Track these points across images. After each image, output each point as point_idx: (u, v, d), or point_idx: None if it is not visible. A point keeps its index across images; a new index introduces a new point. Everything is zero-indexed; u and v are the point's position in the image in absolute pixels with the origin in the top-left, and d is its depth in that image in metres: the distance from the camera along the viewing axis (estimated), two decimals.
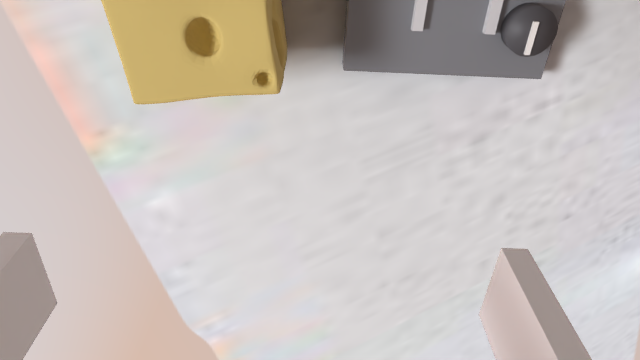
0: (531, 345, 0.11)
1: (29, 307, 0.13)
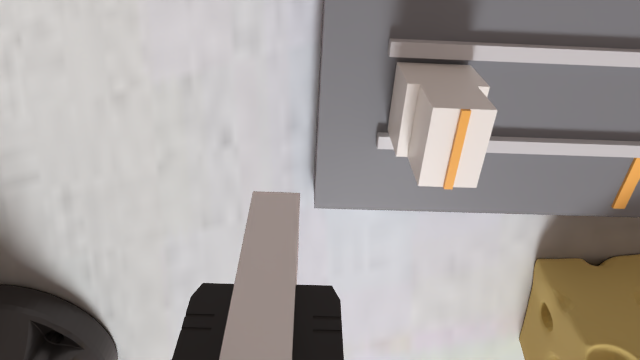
0: None
1: None
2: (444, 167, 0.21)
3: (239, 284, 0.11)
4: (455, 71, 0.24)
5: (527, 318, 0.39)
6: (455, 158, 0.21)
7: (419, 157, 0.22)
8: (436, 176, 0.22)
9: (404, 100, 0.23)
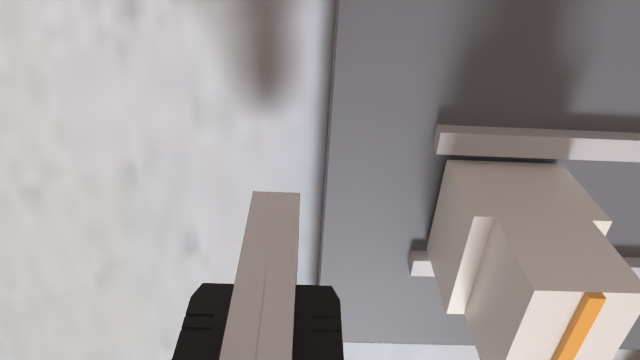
0: None
1: None
2: None
3: (239, 284, 0.11)
4: (543, 180, 0.15)
5: None
6: None
7: (494, 345, 0.13)
8: None
9: (466, 238, 0.14)
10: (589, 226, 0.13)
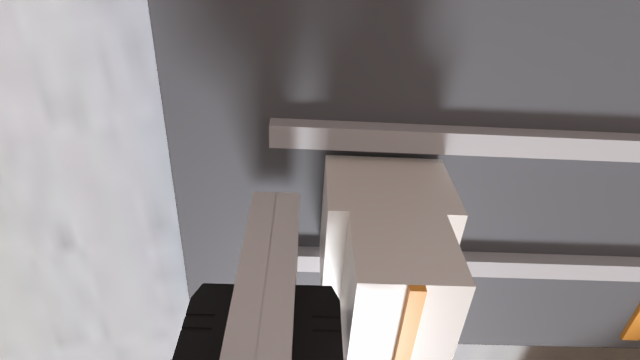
0: None
1: None
2: None
3: (239, 284, 0.11)
4: (415, 175, 0.15)
5: None
6: (403, 355, 0.12)
7: (345, 339, 0.13)
8: None
9: (326, 233, 0.14)
10: (441, 220, 0.13)
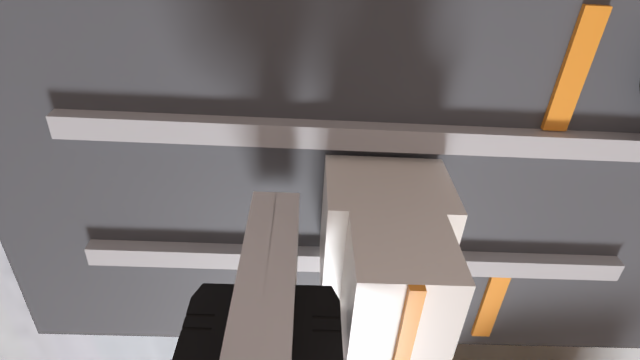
0: None
1: None
2: None
3: (239, 284, 0.11)
4: (415, 175, 0.15)
5: None
6: (403, 355, 0.12)
7: (345, 339, 0.13)
8: None
9: (326, 233, 0.14)
10: (441, 220, 0.13)
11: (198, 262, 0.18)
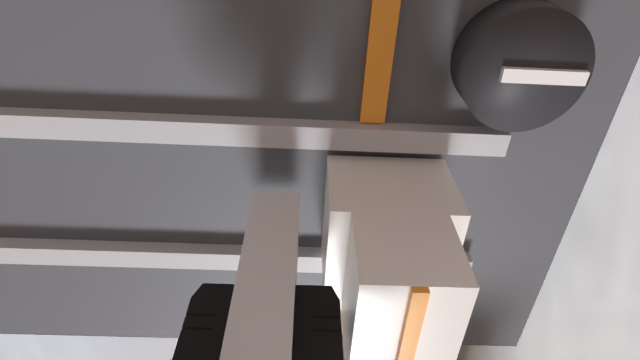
0: None
1: None
2: None
3: (239, 284, 0.11)
4: (418, 176, 0.15)
5: None
6: (406, 357, 0.12)
7: (348, 341, 0.13)
8: None
9: (328, 234, 0.14)
10: (444, 221, 0.13)
11: (35, 258, 0.18)
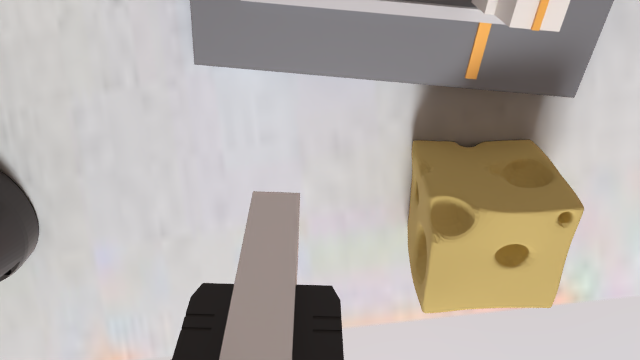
0: None
1: None
2: (534, 8, 0.25)
3: (239, 284, 0.11)
4: None
5: (410, 203, 0.42)
6: None
7: (512, 2, 0.25)
8: (526, 17, 0.25)
9: None
10: None
11: (305, 1, 0.31)
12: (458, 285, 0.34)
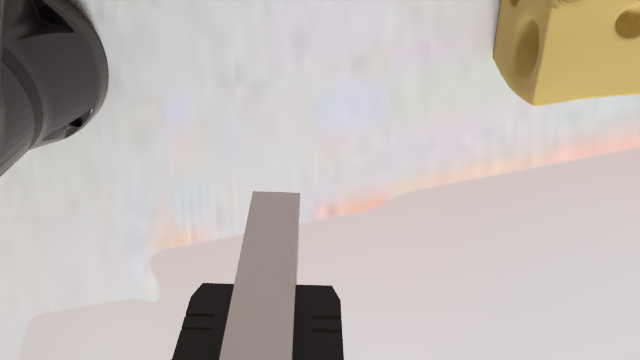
0: None
1: None
2: None
3: (239, 284, 0.11)
4: None
5: (499, 22, 0.40)
6: None
7: None
8: None
9: None
10: None
11: None
12: (574, 64, 0.33)
